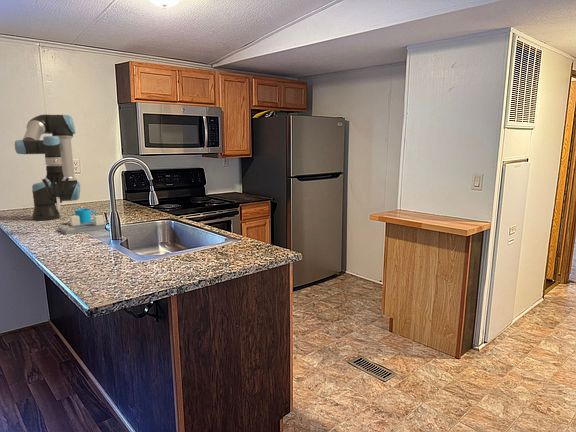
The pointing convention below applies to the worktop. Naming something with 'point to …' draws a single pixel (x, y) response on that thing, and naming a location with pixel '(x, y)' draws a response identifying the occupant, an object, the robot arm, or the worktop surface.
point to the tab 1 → (74, 220)
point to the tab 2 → (98, 220)
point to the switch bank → (81, 228)
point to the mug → (84, 215)
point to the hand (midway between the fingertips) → (58, 209)
